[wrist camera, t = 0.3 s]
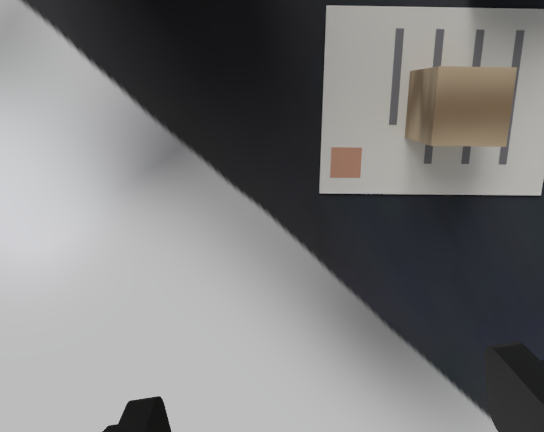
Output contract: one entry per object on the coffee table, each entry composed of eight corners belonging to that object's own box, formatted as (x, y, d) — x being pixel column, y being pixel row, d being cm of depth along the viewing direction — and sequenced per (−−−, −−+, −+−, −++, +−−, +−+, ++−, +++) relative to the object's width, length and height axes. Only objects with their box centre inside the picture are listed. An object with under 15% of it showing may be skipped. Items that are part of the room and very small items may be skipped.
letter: (326, 5, 34) (326, 5, 34) (568, 9, 35) (570, 9, 35) (319, 192, 38) (319, 193, 38) (539, 195, 38) (541, 195, 38)
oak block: (410, 71, 35) (438, 66, 30) (475, 71, 36) (517, 67, 30) (404, 137, 37) (431, 145, 31) (468, 138, 37) (506, 146, 31)
